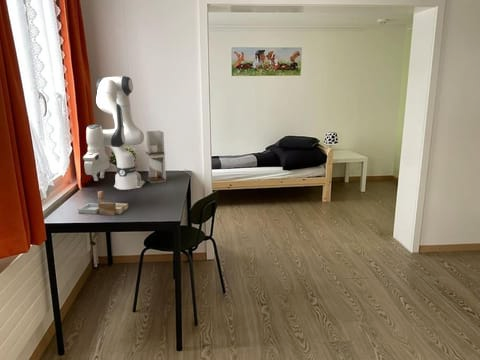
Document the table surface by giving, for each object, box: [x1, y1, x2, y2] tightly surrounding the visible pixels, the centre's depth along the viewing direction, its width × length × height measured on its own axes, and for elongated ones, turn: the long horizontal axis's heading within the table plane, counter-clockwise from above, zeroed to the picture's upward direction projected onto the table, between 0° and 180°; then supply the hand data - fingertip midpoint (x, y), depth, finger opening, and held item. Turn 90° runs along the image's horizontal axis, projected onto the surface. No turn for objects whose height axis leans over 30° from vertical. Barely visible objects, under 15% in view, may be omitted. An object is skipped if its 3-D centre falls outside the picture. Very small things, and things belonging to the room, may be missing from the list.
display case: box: [144, 130, 167, 184], centre depth 264 cm, size 11×11×35 cm
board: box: [98, 202, 129, 215], centre depth 203 cm, size 10×12×3 cm
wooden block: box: [97, 201, 117, 216], centre depth 196 cm, size 3×8×6 cm, turn 82°
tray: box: [77, 202, 99, 215], centre depth 202 cm, size 10×10×2 cm
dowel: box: [97, 190, 105, 204], centre depth 211 cm, size 3×3×8 cm
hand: (99, 179), depth 208 cm, fingers open, 5 cm apart
